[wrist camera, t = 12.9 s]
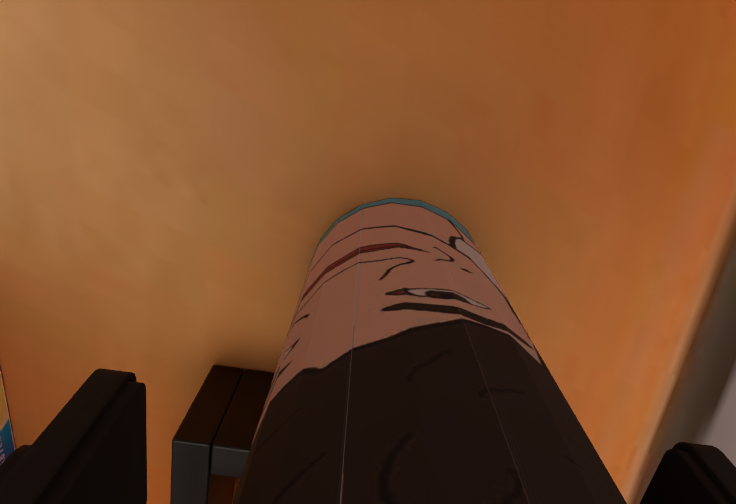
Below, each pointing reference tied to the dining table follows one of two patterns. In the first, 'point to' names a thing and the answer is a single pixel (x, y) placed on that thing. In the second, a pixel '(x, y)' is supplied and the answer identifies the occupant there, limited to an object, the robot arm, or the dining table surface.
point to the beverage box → (5, 427)
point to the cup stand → (217, 435)
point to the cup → (413, 381)
